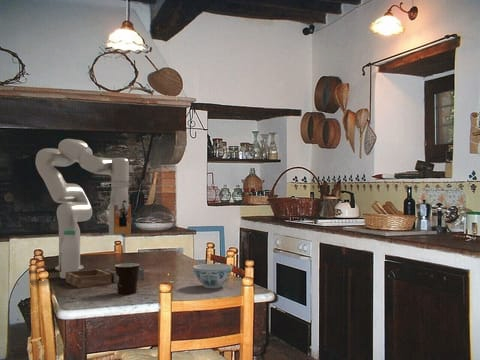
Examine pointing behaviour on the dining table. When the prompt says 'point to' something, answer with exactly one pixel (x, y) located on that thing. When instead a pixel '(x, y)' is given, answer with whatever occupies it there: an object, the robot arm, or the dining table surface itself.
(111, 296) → the dining table surface
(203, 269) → the chinaware
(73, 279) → the walnut trough
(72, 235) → the milk bottle
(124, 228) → the small box
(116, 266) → the coffee mug
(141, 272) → the frame
